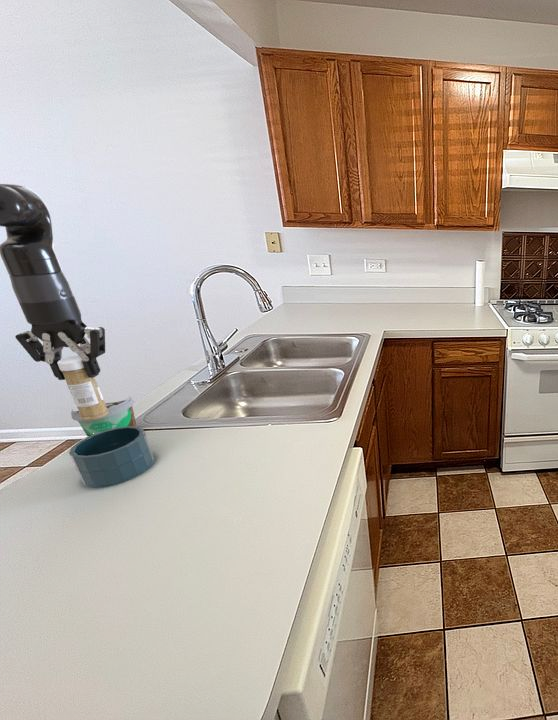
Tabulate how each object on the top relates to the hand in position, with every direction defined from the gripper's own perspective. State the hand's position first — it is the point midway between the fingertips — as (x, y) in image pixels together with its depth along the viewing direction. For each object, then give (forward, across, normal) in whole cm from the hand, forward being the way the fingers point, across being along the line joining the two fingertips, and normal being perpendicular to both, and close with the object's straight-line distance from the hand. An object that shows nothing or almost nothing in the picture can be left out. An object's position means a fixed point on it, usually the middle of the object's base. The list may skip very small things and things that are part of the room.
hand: (79, 377), depth 83 cm
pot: (+24, 0, -1) cm, 24 cm away
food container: (+24, +9, -16) cm, 31 cm away
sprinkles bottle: (+10, 0, 0) cm, 10 cm away
